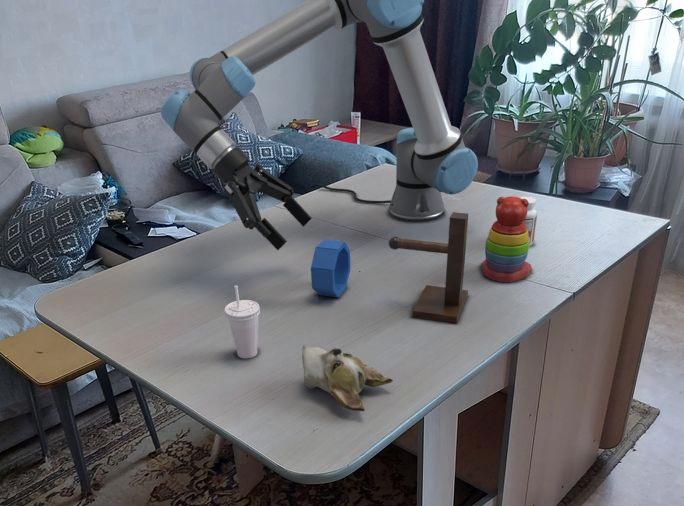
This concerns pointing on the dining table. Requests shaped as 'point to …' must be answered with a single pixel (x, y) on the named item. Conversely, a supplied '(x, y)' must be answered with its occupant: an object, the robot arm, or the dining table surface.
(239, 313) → the smoothie
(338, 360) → the ceramic sculpture
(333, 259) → the tape
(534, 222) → the pill bottle
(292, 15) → the robot arm
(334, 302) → the dining table surface
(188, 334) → the dining table surface
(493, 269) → the stacking bear
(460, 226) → the stand
